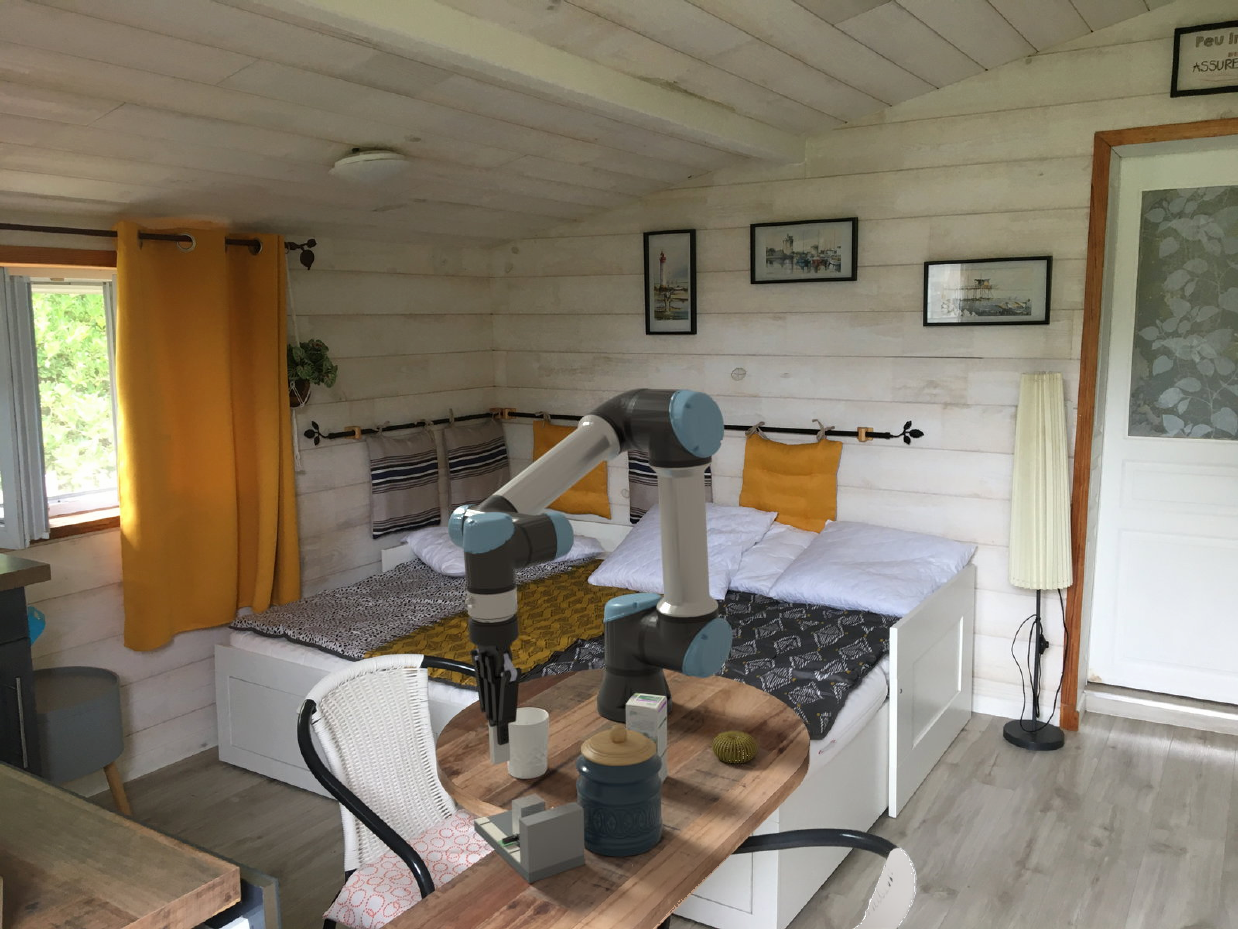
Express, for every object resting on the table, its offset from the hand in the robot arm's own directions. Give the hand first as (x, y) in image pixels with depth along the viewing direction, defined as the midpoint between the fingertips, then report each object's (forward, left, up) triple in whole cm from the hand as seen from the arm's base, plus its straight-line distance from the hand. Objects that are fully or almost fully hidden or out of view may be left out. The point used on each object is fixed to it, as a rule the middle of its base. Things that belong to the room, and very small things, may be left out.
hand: (500, 760), depth 159 cm
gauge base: (+1, +10, -10) cm, 14 cm away
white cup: (-11, -13, -10) cm, 20 cm away
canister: (-12, +15, -10) cm, 22 cm away
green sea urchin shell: (-44, +3, -10) cm, 46 cm away
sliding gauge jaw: (+2, +10, -8) cm, 13 cm away
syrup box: (-26, +2, -10) cm, 28 cm away
